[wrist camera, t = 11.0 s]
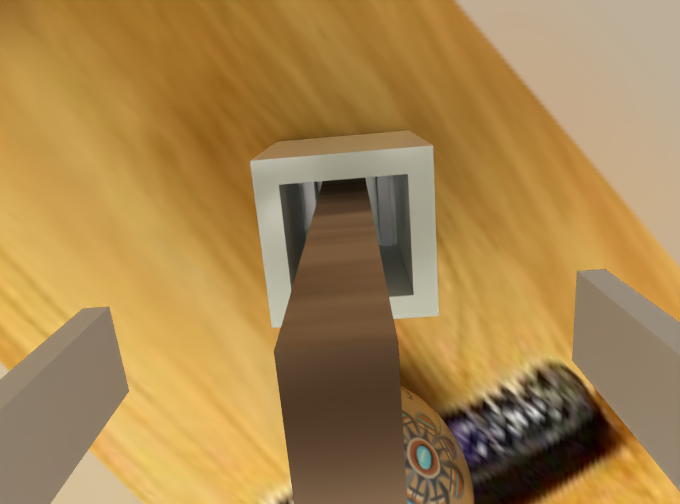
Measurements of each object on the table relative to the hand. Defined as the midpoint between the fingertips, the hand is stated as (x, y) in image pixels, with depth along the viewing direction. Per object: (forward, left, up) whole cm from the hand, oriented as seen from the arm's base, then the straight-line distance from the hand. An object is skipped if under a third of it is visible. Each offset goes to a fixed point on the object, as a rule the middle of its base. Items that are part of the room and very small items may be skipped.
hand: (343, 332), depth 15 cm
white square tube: (0, 0, -21) cm, 21 cm away
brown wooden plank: (0, 0, -20) cm, 20 cm away
